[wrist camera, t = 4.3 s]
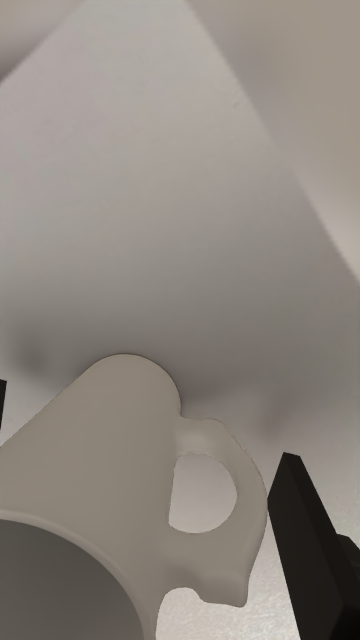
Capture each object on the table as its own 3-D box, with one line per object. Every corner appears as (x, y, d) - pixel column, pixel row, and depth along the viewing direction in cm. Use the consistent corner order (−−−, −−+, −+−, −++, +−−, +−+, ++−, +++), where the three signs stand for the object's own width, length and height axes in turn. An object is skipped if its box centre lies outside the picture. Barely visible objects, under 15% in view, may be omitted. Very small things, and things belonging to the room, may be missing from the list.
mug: (77, 455, 20) (-99, 733, 9) (65, 349, 19) (-162, 507, 7) (243, 456, 19) (301, 766, 8) (242, 346, 18) (312, 518, 6)
